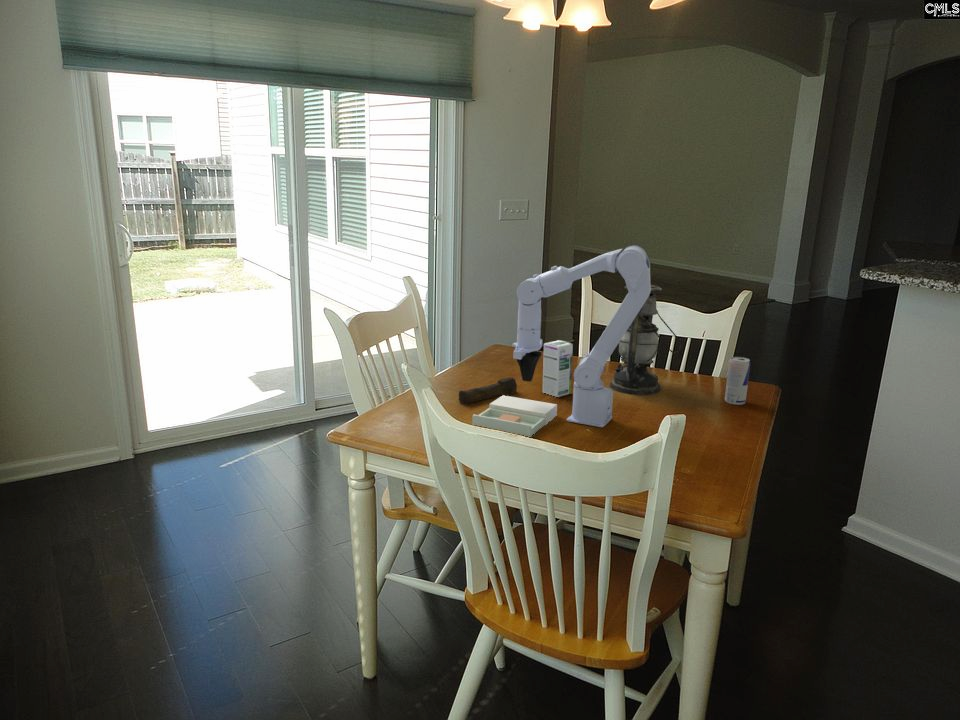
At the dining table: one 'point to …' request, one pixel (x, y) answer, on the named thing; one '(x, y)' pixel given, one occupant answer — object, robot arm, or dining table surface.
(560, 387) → the syrup box
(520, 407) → the white drawer casing
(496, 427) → the tray
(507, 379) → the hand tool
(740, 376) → the energy drink
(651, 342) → the lantern
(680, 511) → the dining table surface
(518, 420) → the terracotta tile
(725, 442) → the dining table surface
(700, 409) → the dining table surface
